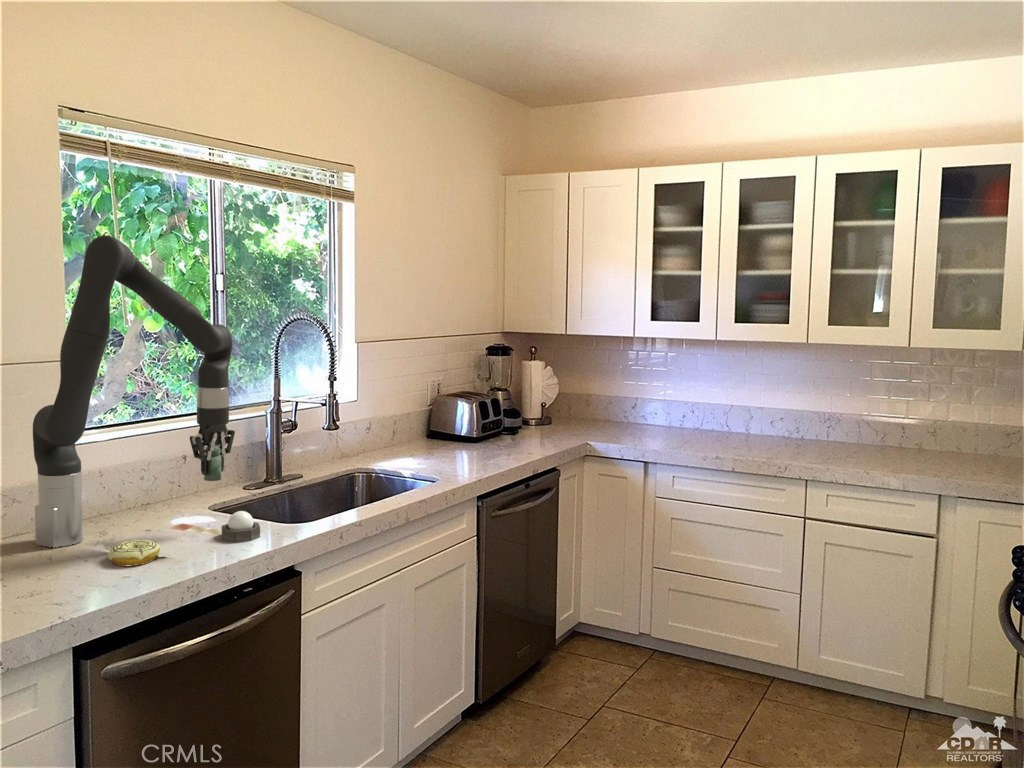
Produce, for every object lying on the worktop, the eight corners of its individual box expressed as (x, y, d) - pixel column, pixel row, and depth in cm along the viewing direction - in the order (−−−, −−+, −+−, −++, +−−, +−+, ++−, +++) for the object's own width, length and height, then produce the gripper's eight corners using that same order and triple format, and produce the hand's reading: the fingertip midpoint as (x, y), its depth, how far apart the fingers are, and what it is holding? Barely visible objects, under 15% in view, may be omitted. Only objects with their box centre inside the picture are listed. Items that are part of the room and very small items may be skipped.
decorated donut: (100, 567, 185) (99, 550, 185) (122, 552, 196) (122, 536, 195) (146, 568, 185) (146, 552, 185) (166, 553, 196) (166, 538, 195)
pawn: (212, 481, 205) (212, 445, 204) (200, 479, 207) (200, 444, 206) (224, 478, 209) (224, 443, 208) (212, 476, 210) (213, 441, 209)
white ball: (242, 539, 203) (242, 515, 202) (222, 536, 205) (222, 512, 204) (258, 533, 208) (258, 510, 208) (239, 530, 210) (239, 507, 210)
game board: (242, 549, 200) (242, 534, 200) (161, 535, 209) (161, 520, 209) (268, 538, 210) (268, 523, 209) (189, 525, 219) (189, 511, 218)
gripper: (204, 409, 198) (204, 480, 200) (244, 403, 211) (243, 469, 213) (180, 406, 201) (179, 476, 202) (220, 401, 214) (220, 466, 215)
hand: (212, 472), depth 208 cm, fingers closed on pawn, 4 cm apart
